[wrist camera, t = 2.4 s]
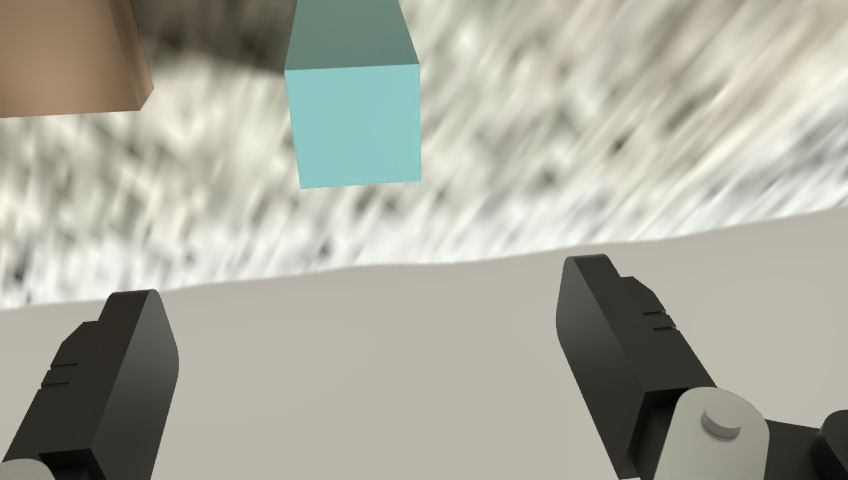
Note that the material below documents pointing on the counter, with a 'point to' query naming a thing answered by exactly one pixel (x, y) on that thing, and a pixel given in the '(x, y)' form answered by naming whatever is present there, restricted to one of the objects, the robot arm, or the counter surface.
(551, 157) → the counter surface
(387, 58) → the square peg
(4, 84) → the board
